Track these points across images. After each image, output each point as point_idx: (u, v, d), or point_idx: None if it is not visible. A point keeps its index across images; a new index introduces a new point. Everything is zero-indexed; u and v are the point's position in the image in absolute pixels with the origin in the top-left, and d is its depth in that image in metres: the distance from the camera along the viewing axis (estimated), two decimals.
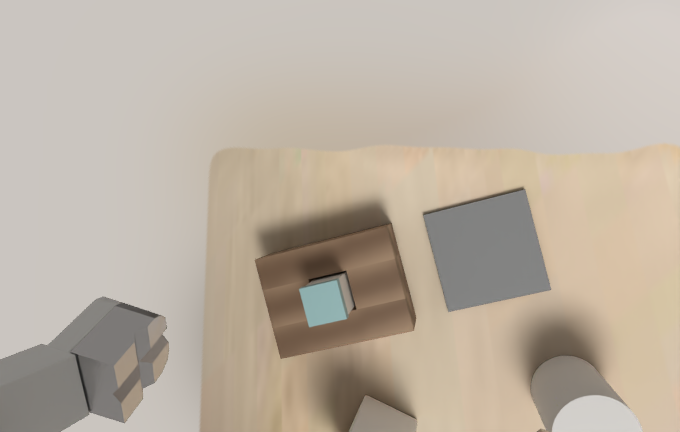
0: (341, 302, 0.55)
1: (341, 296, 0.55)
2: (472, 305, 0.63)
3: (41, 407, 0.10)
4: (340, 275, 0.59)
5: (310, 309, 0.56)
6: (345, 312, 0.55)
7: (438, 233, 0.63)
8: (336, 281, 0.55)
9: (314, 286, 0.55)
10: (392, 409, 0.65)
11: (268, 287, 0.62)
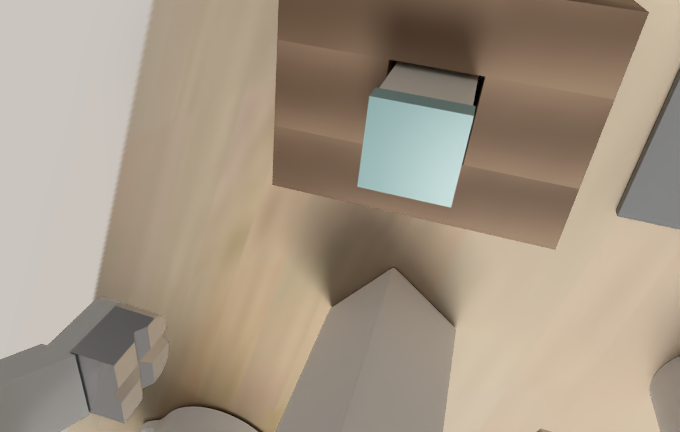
0: (458, 170, 0.22)
1: (463, 155, 0.22)
2: (670, 225, 0.31)
3: (41, 407, 0.10)
4: (469, 85, 0.24)
5: (376, 152, 0.22)
6: None
7: None
8: (471, 118, 0.21)
9: (410, 106, 0.21)
10: (426, 304, 0.39)
11: (292, 38, 0.26)
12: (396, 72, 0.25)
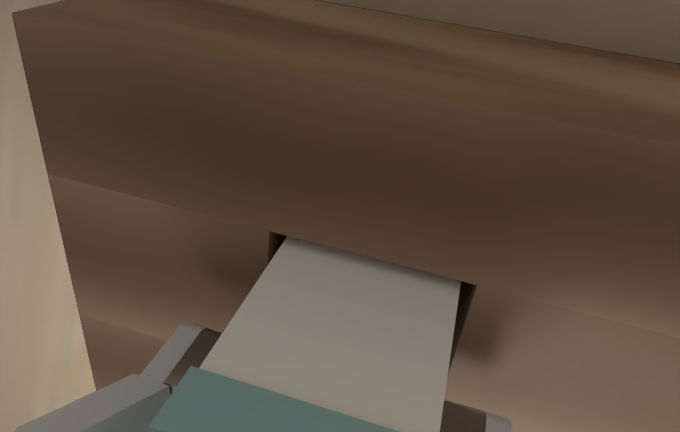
0: None
1: None
2: None
3: None
4: (440, 315, 0.10)
5: None
6: None
7: None
8: None
9: None
10: None
11: (74, 174, 0.12)
12: (278, 270, 0.11)
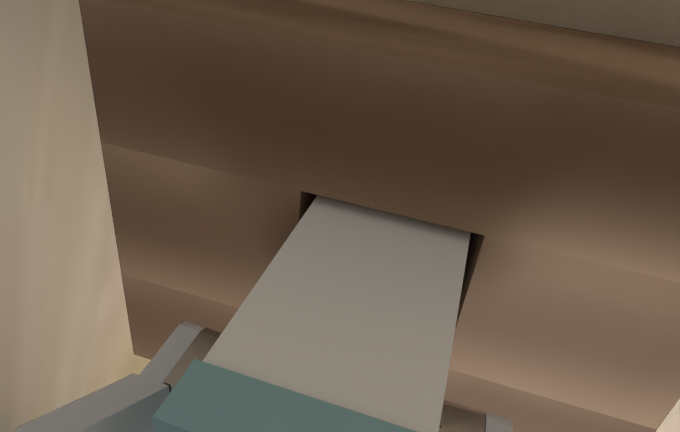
0: None
1: None
2: None
3: None
4: (441, 313, 0.10)
5: None
6: None
7: None
8: None
9: None
10: None
11: (125, 142, 0.14)
12: (282, 267, 0.11)
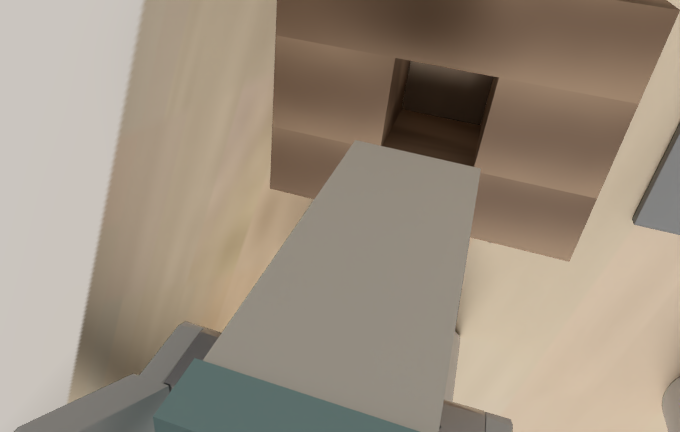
0: None
1: None
2: None
3: None
4: (441, 312, 0.10)
5: None
6: None
7: None
8: None
9: None
10: None
11: (291, 34, 0.24)
12: (282, 266, 0.11)
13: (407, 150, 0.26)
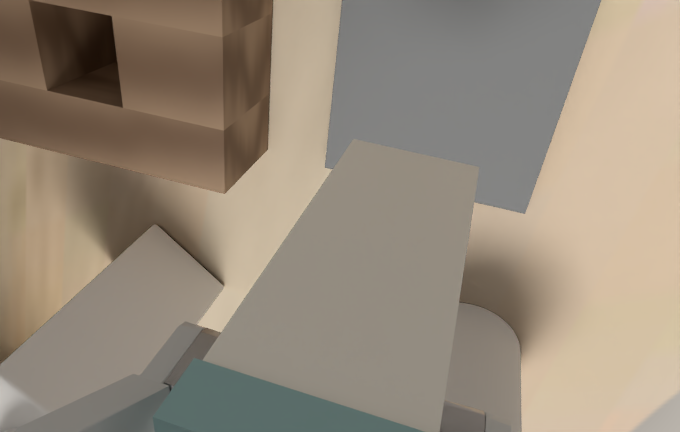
0: None
1: None
2: None
3: None
4: (441, 311, 0.10)
5: None
6: None
7: (363, 8, 0.27)
8: None
9: None
10: (189, 261, 0.39)
11: None
12: (281, 265, 0.11)
13: (76, 91, 0.28)
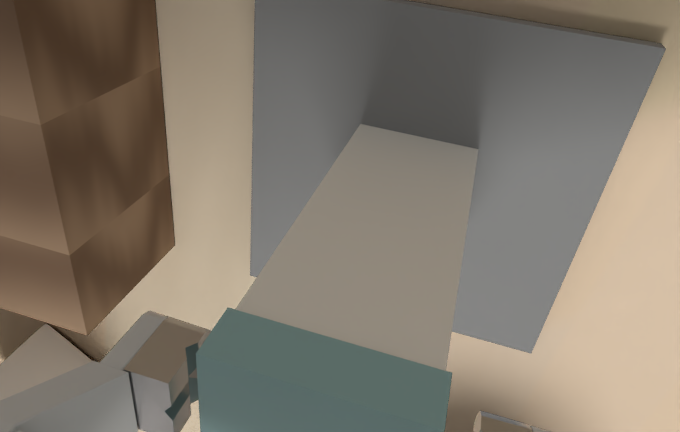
0: None
1: None
2: None
3: (94, 426, 0.10)
4: (446, 271, 0.12)
5: None
6: None
7: (286, 67, 0.18)
8: None
9: (291, 386, 0.09)
10: None
11: None
12: (299, 233, 0.12)
13: None
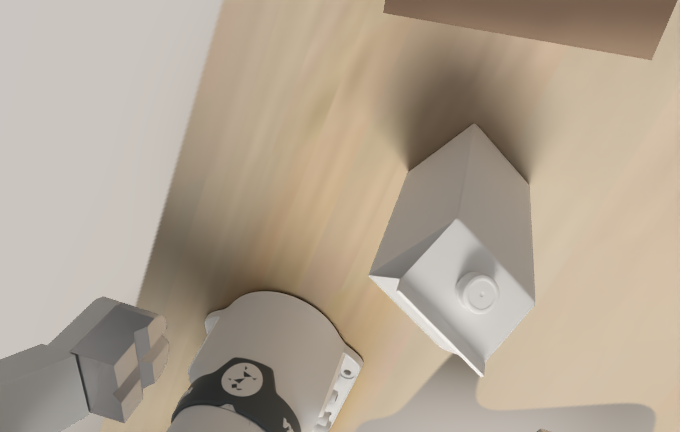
0: None
1: None
2: None
3: (41, 407, 0.10)
4: None
5: None
6: None
7: None
8: None
9: None
10: (504, 159, 0.41)
11: None
12: None
13: None
